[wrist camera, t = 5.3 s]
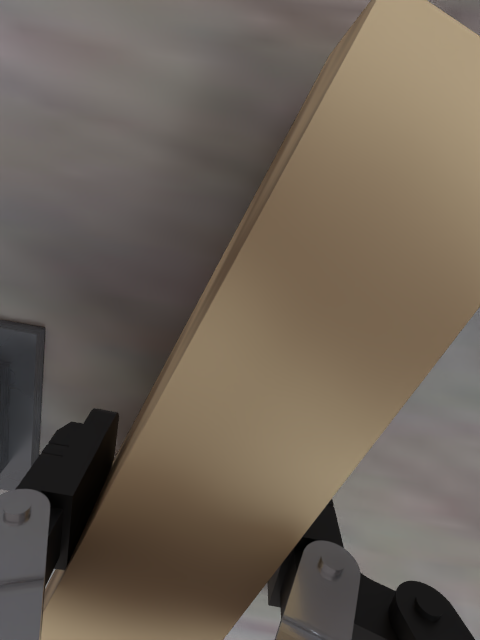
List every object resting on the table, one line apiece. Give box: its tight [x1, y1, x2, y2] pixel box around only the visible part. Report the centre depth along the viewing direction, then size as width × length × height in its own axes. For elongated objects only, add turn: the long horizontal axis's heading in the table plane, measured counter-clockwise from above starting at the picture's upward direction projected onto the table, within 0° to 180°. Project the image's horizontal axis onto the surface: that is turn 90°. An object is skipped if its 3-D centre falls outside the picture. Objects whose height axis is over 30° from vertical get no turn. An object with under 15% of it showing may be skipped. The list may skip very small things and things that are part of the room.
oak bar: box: [41, 0, 480, 640], centre depth 12 cm, size 22×4×5 cm, turn 152°
